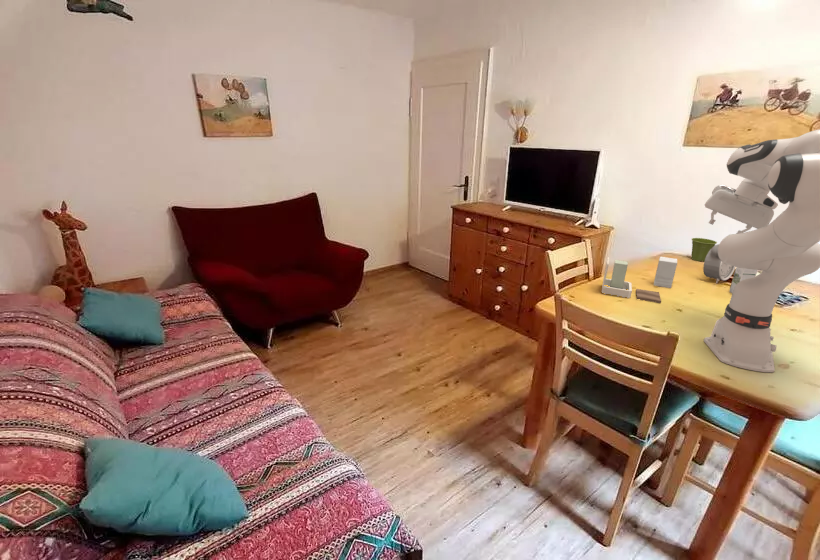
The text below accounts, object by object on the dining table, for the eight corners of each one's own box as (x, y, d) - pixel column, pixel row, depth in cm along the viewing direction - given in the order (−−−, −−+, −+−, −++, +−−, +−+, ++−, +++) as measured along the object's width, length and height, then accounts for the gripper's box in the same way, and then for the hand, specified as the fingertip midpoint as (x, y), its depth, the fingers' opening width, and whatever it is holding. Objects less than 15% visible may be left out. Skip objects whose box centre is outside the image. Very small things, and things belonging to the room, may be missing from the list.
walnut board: (660, 303, 173) (661, 301, 173) (636, 299, 177) (637, 297, 177) (658, 294, 183) (659, 292, 182) (635, 290, 186) (636, 288, 186)
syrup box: (749, 297, 180) (760, 266, 175) (734, 296, 181) (744, 265, 176) (742, 292, 186) (752, 262, 180) (727, 291, 187) (737, 261, 181)
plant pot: (712, 264, 223) (718, 244, 219) (686, 260, 228) (692, 241, 224) (710, 258, 232) (716, 239, 228) (686, 255, 238) (691, 236, 234)
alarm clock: (716, 286, 193) (730, 241, 185) (696, 280, 200) (709, 236, 192) (733, 280, 201) (747, 236, 193) (714, 274, 208) (726, 232, 200)
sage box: (621, 294, 182) (627, 264, 177) (609, 292, 184) (614, 263, 179) (621, 290, 186) (627, 261, 181) (609, 288, 188) (615, 259, 183)
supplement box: (671, 283, 195) (678, 258, 190) (671, 288, 189) (677, 262, 185) (653, 280, 199) (659, 256, 194) (652, 285, 193) (659, 260, 188)
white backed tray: (630, 298, 178) (637, 268, 173) (601, 293, 182) (607, 264, 177) (629, 289, 188) (636, 260, 183) (602, 285, 192) (607, 256, 187)
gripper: (719, 182, 147) (695, 216, 152) (783, 206, 139) (755, 242, 144) (717, 183, 152) (694, 217, 157) (779, 207, 144) (752, 242, 149)
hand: (724, 229), depth 150 cm, fingers open, 8 cm apart
